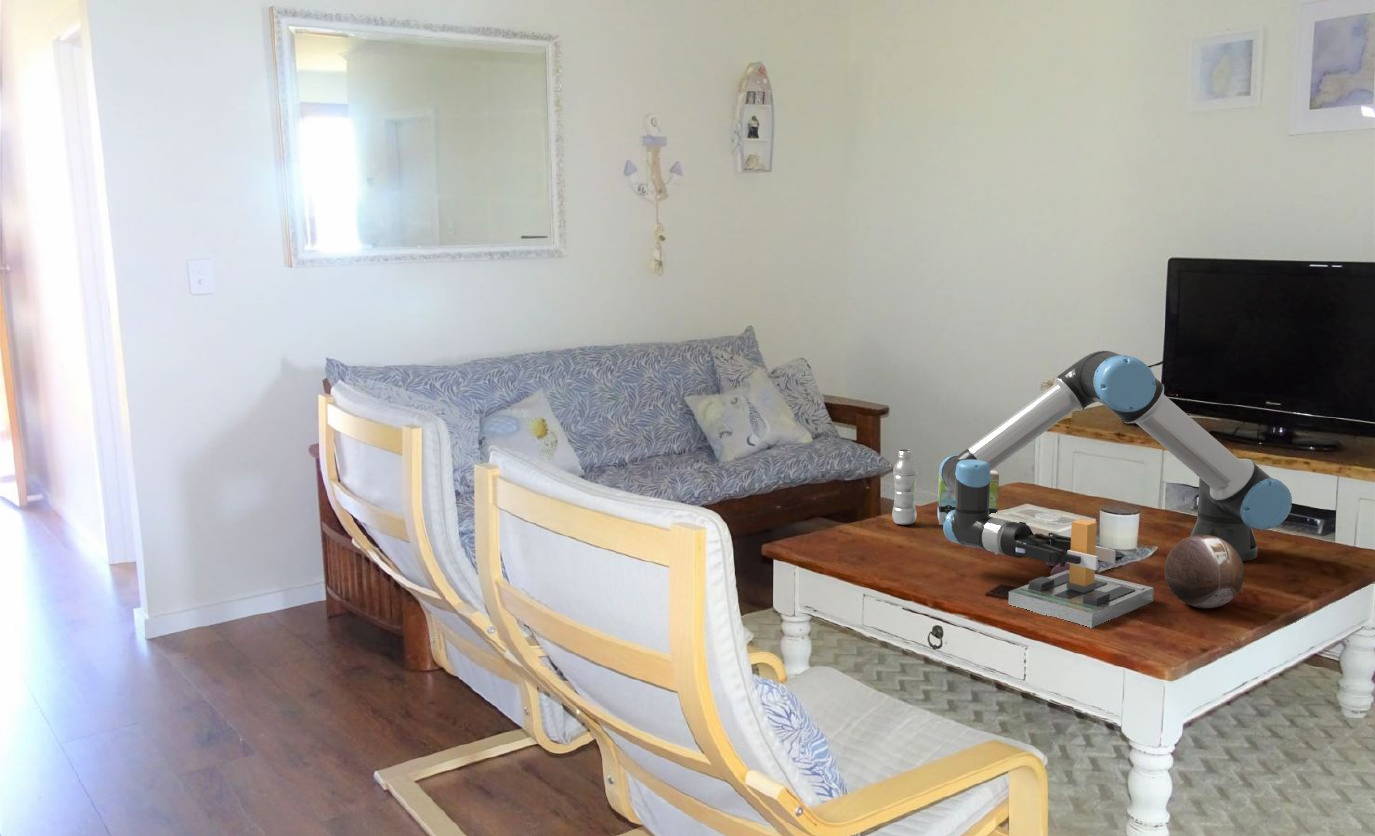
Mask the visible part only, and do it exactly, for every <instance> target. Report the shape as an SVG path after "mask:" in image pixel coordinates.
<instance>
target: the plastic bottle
mask: <svg viewBox="0 0 1375 836" xmlns="http://www.w3.org/2000/svg"><path fill="white" fill-rule="evenodd" d="M897 457H898V460H897V461H896V462H895V464H894V466H893V468H892V474H893V480H894V499H893V500H894V501H893V507H892V513H891V517H892V521H893V522H894V523H895V524H897V525H902V526H906V525H913V524H914V523H915V522H916V520H917V516H918V515H917V508H916V507H917V506H916V497H915V496H916V495H915V494H916V482H917V476H918V467H917V465H916V463H915V462H914V461H913V460H912V458H913V457H914V455H913V450H912V449H908V448H907V449H906V448H904V449H902V448H901V449H898V455H897Z"/></svg>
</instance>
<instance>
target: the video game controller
mask: <svg viewBox="0 0 1375 836" xmlns="http://www.w3.org/2000/svg"><path fill="white" fill-rule="evenodd" d="M1045 564H1046V566H1047V567H1049V566H1053V567H1052V569H1051V570H1050V573H1049V574H1050V576H1052V575H1055V574H1058V573H1061V572H1063V571H1066V570H1069V569H1070V564H1068V563H1067V562H1065V567H1061V566H1060V563H1059V562H1058V564H1051V563H1047V562H1045Z"/></svg>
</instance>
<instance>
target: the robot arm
mask: <svg viewBox="0 0 1375 836" xmlns="http://www.w3.org/2000/svg"><path fill="white" fill-rule="evenodd" d="M1095 403H1099V404H1102V405H1103V406H1104V407H1105V408H1107V409H1108V410H1109V411H1110V412H1112V414H1114V415H1115V416H1116V417H1117V418H1118V419H1120V420H1121V421H1123V423H1125V424H1136V425H1137V426H1139V428H1141V429H1143V431H1145V432H1146V433H1147V434H1148V435H1149V436H1150V437H1152V438H1153V439H1154V440H1155V441H1156V442H1158V444H1160V445H1161V446H1162V447H1163V448H1164V449H1166V451H1168V452H1169V453H1170V454H1171V455H1173V456H1174V457H1175V458H1176V459H1177V460H1178V461H1179V462H1181V463H1182V464H1183V465H1184V466H1186V468H1188V469H1189V470H1190V471H1191V472H1192V473H1194V474H1195V475H1196V476H1197V477H1198V478H1199V480H1198V481H1199V482H1198V501H1197V517H1196V518H1197V519H1196V521H1195V524H1194V527H1193V529H1192V530H1191V533H1190V535H1189V537H1190V536H1194V535H1211V536H1215V537H1218V538H1220V539H1222V540H1224V541H1226V542H1227V543H1229V544H1230V545H1231V546H1232V547H1233V548H1234V549H1235V550H1236V551H1237V553H1238V554H1239V556H1240V558H1241V560H1242V562H1245V561H1246V562H1247V561H1251V560H1255V559H1256V558H1257V557H1258V545H1257V541H1256V537H1255V533H1254V531H1253V529H1256V530H1261V531H1262V530H1263V531H1264V530H1270V529H1273V528H1275V527H1278V526H1279V525H1281V524H1282V523H1283V522H1284V521H1285V520H1286V519H1287V517H1288V516H1289V514H1290V513H1291V510H1292V503H1293V496H1292V493H1291V491H1290V489H1289V488H1288V486H1287V485H1286V484H1285V483H1284V482H1283V481H1281V480H1279V479H1277V478H1273V477H1271V476H1270V475H1268V474H1267V473H1266V472H1265V471H1264V470H1263V469H1261V468H1260V467H1259V465H1257V464H1256V463H1255V461H1254V460H1253V459H1249V458H1238V457H1237V456H1235V454H1233V453H1232V452H1231V451H1230V450H1229V449H1228V448H1226V447H1225V445H1223V444H1222V443H1221V442H1219V441H1218V440H1217V438H1215V437H1214V436H1213V435H1211V434H1210V433H1209V432H1208V430H1206V429H1204V428H1203V427H1202V426H1201V424H1199V423H1198V422H1197V421H1195V420H1194V419H1193V418H1191V416H1189V415H1188V414H1187V413H1186V412H1185V411H1183V410H1182V409H1181V408H1180V407H1179V406H1178V404H1177V405H1176V403H1174V402H1173V400H1171V399H1170V398H1168V396H1166V395H1165V386H1164V384H1163V383H1162V382H1161V381H1160V380H1158V378H1156V377H1155V375H1154V371H1152V368H1150V367H1149V366H1148V365H1147V364H1146V363H1145V362H1144V361H1142V360H1141V359H1139V358H1137V357H1134V356H1131V355H1124V354H1119V353H1116V352H1113V351H1109V350H1099V351H1095V352H1092V353H1089V354H1088V355H1086V356H1084V357H1083V358H1081V359H1079V360H1078V361H1077V362H1075V363H1073V364H1072V365H1071V366H1070V367H1068V368H1067V369H1066V370H1064V371H1063V372H1061V373H1060V374H1059V375H1057V376H1056V377H1055V378H1054V380H1053V385H1052V386H1050V387H1049V388H1047V389H1046V390H1045V391H1044V392H1042V393H1040V394H1039V395H1038V396H1036V397H1035V398H1034V399H1033V400H1031V401H1030V402H1029V403H1027V404H1026V405H1024V406H1023V407H1022V408H1020V409H1019V410H1018V411H1017V412H1015V413H1013V414H1012V415H1011V416H1009V417H1008V418H1007V419H1005V420H1004V421H1003V422H1001V423H1000V424H999V425H997V426H996V427H995V428H993V429H992V430H991V431H990V432H987V433H986V434H985V435H983V437H981V438H980V439H979V440H977V441H976V442H975V443H973V444H972V445H971V446H969V447H968V448H966V449H965V450H964V451H962V452H961V453H959V454H958V455H950V456H948V457H946V458H945V459H944V460H942V461H941V463H940V464H939V467H940V469H939V468H938V469H939V470H938V474H939V473H940V477H941V479H942V480H943V482H944V484H945V485H946V486H948V487H949V488H950V489H951V490H952V491H953V492H955V510H952V511H950V512H949V513H948V514H947V516H946V517H945V522H944V524H943V525H942V528H943V533H944V536H945V538H946V539H947V540H948V541H949V542H952V543H956V544H959V545H961V546H964V547H969V548H970V547H971V548H973V549H974V548H975V549H979V550H984V551H989V552H992V553H994V555H995V556H998V555H999V554H1000V555H1005V556H1007V557H1013V558H1017V559H1022V558H1029V559H1033V560H1037V561H1040V562H1044V563H1046V562H1047V563H1051V564H1058V562H1059V563H1060V566H1061V567H1065V562H1067V563H1068V564H1072V565H1076V566H1080V567H1085V568H1089V569H1093V570H1095V571H1098V565H1099V561H1101V562H1105V563H1108V564H1115V563H1116V549H1112V548H1107V547H1103V546H1098V545H1096V553H1095V556H1094V555H1089V554H1085V553H1080V552H1076V551H1072V550H1071V536H1065V535H1060V534H1058V533H1057V534H1056V533H1053V532H1048V534H1047V535H1045V534H1043V533H1033V531H1032V529H1031V527H1030V526H1029V525H1028V524H1026V523H1022V522H1016V521H1011V520H1007V519H1003V518H998V517H997V518H993V517H990V516H989V502H990V481H991V475H990V471H992V470H993V469H995V468H996V469H997V467H999V466H1000V465H1001V464H1003V463H1004V462H1006V461H1007V460H1008V459H1010V458H1011V457H1013V456H1014V455H1015V454H1017V453H1018V452H1020V451H1021V450H1022V449H1024V448H1025V447H1027V445H1029V444H1030V443H1031V442H1033V441H1034V440H1036V439H1037V438H1038V437H1040V436H1041V435H1042V434H1045V432H1047V431H1048V430H1049V429H1051V428H1052V427H1053V426H1055V425H1056V424H1058V423H1059V422H1061V421H1062V420H1063V419H1065V418H1066V417H1067V416H1068V415H1070V414H1071V413H1073V412H1074V411H1080V412H1082V411H1083V410H1084V409H1085V408H1087V407H1089V406H1090V405H1092V404H1095Z"/></svg>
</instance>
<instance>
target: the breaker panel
mask: <svg viewBox="0 0 1375 836" xmlns="http://www.w3.org/2000/svg"><path fill="white" fill-rule="evenodd" d="M1069 575H1070V569H1069V570H1066V571H1063V572H1061V573H1058V574H1055V575H1052V576H1051V575H1050V576H1047V577H1046V576H1040V577H1037V578H1034V579H1032V580H1029V581H1028V584H1025V585H1023V586H1020V587H1017V588H1014V589H1011V590H1009V591H1008V601H1007V603H1008V604H1009V605H1012V606H1011V607H1013V606H1016V607H1015V608H1017V607H1020V608H1024V609H1027V610H1030V611H1029V612H1031V611H1033V612H1032V613H1035V612H1036V613H1035V614H1039V615H1043V616H1045V617H1049V616H1053V617H1057V618H1060V619H1064V620H1067V621H1071V622H1074V623H1078V624H1080V625H1079V626H1082V625H1084V626H1083V627H1085V626H1087V627H1086V628H1089V627H1090V628H1089V629H1093V628H1096V627H1098V626H1100V625H1102V624H1105V623H1107V622H1109V621H1111V619H1112V620H1113V618H1114V619H1116V618H1118V617H1121V616H1123V615H1126V614H1127V613H1130V612H1132V611H1135V610H1137V609H1139V608H1141V607H1144V606H1146V605H1149V604H1150V603H1153V602H1154V589H1155V588H1154V587H1152V586H1147V585H1144V584H1139V583H1135V582H1131V581H1126V580H1124V579H1123V580H1122V579H1118V578H1115V577H1114V578H1113V577H1109V576H1105V575H1101V574H1098V573H1095V576H1094V582H1097V585H1096V588H1095V589H1092V590H1090V591H1087V592H1085V593H1083V592H1079V591H1075V590H1071V589H1067V583H1068V582H1069ZM1009 605H1008V606H1009ZM1020 608H1019V609H1020ZM1024 609H1023V610H1024ZM1027 610H1026V611H1027ZM1046 615H1047V616H1046ZM1053 617H1052V618H1053ZM1060 619H1059V620H1060ZM1064 620H1063V621H1064ZM1108 620H1109V621H1108ZM1067 621H1066V622H1067ZM1106 621H1107V622H1106ZM1071 622H1070V623H1071ZM1104 622H1105V623H1104ZM1074 623H1073V624H1074ZM1101 623H1102V624H1101ZM1078 624H1077V625H1078ZM1099 624H1100V625H1099ZM1097 625H1098V626H1097ZM1095 626H1096V627H1095Z"/></svg>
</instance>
